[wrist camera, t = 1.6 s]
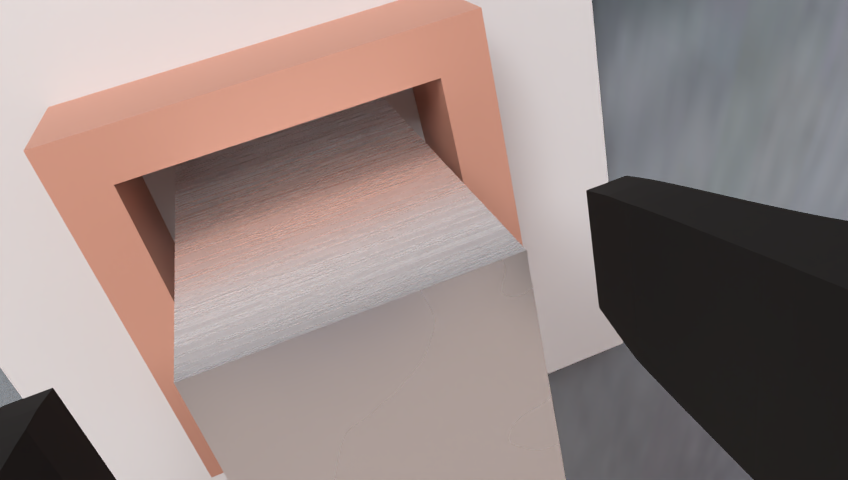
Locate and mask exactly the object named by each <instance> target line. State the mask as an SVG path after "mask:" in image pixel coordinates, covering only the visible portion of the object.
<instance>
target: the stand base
mask: <svg viewBox="0 0 848 480" xmlns="http://www.w3.org/2000/svg"><path fill="white" fill-rule="evenodd" d="M381 97H383V98H384V99H385V100H386V101H387V102H388V103H389V104H390V105H391V106H392V107H393V109H394V110H395V111H396V112H397V113H398V114H399V115H400V116H401V117H402V118H403V119H404V120H405V121H406V122H407V123H408V125H409V126H410V127H411V128H412V129H413V130H414V131H415V132H416V133H417V134H418V135H419V136H420V137H421V138H422V139H423V140H424V142H425V143H426V144H427V145H428V146H429V147H430V148H431V149H432V150H433V151H434V152H435V153H436V154H437V155H438V156H439V158H440V159H441V160H442V161H443V162H444V163H445V164H446V165H447V166H448V167H449V168H450V169H451V170H452V171H453V172H454V174H455V175H456V176H457V177H458V178H459V179H460V180H461V181H462V182H463V183H464V184H465V185H466V186H467V187H468V188H469V190H470V191H471V192H472V193H473V194H474V195H475V196H476V197H477V198H478V199H479V200H480V201H481V202H482V203H483V204H484V205H485V207H486V208H487V209H488V210H489V211H490V212H491V213H492V214H493V215H494V216H495V217H496V218H497V219H498V220H499V221H500V223H501V224H502V225H503V226H504V227H505V228H506V229H507V230H508V231H509V232H510V233H511V234H512V235H513V236H514V237H515V239H516V240H517V241H518V242H519V243H520V244H521V245H522V246H523V247H524V248H525V249H526V251H527V256H528V262H529V268H530V274H531V280H532V286H533V291H534V297H535V303H536V309H537V315H538V321H539V326H540V332H541V338H542V344H543V350H544V356H545V361H546V367H547V373H548V374H549V373H551V372H554V371H556V370H559V369H561V368H564V367H566V366H569V365H571V364H573V363H576V362H578V361H581V360H583V359H586V358H588V357H591V356H593V355H595V354H598V353H600V352H603V351H605V350H608V349H610V348H612V347H615V346H617V345H620V344H622V343H623V340H622V339H621V338H620V336H619V335H618V334H617V332H616V331H615V329H614V328H613V327H612V325H611V324H610V322H609V321H608V320H607V318H606V317H605V315H604V314H603V312H602V311H601V310H600V308H599V303H598V294H597V285H596V276H595V267H594V257H593V248H592V239H591V230H590V221H589V212H588V203H587V194H586V190H589V189H591V188H594V187H597V186H600V185H602V184H605V183H608V173H607V162H606V151H605V140H604V129H603V118H602V107H601V96H600V85H599V75H598V64H597V53H596V42H595V31H594V20H593V9H592V0H0V368H1V369H2V370H3V372H4V373H5V375H6V376H7V377H8V379H9V380H10V381H11V383H12V384H13V386H14V387H15V388H16V390H17V391H18V393H19V394H20V395H21V397H22V398H23V399H24V398H26V397H29V396H32V395H34V394H37V393H40V392H42V391H45V390H48V389H51V388H54V390H55V391H56V393H57V394H58V396H59V397H60V399H61V400H62V401H63V403H64V404H65V406H66V407H67V409H68V410H69V412H70V413H71V414H72V416H73V417H74V419H75V420H76V422H77V423H78V425H79V426H80V428H81V429H82V430H83V432H84V433H85V435H86V436H87V438H88V439H89V441H90V442H91V443H92V445H93V446H94V448H95V449H96V451H97V452H98V454H99V455H100V457H101V458H102V459H103V461H104V462H105V464H106V465H107V467H108V468H109V470H110V471H111V472H112V474H113V475H114V477H115V478H116V480H228V479H227V477H226V476H225V474H224V472H223V470H222V468H221V467H220V465H219V463H218V461H217V459H216V458H215V456H214V454H213V452H212V451H211V449H210V447H209V445H208V443H207V442H206V440H205V438H204V436H203V434H202V433H201V431H200V429H199V427H198V425H197V424H196V422H195V420H194V418H193V417H192V415H191V413H190V411H189V409H188V408H187V406H186V404H185V402H184V400H183V399H182V397H181V395H180V393H179V391H178V390H177V388H176V386H175V384H174V292H175V165H176V164H180V163H183V162H186V161H189V160H192V159H195V158H198V157H201V156H204V155H207V154H210V153H213V152H216V151H219V150H222V149H225V148H228V147H231V146H235V145H238V144H241V143H244V142H247V141H250V140H253V139H256V138H259V137H262V136H265V135H268V134H271V133H274V132H277V131H280V130H283V129H286V128H290V127H293V126H296V125H299V124H302V123H305V122H308V121H311V120H314V119H317V118H320V117H323V116H326V115H329V114H332V113H335V112H338V111H342V110H345V109H348V108H351V107H354V106H357V105H360V104H363V103H366V102H369V101H372V100H375V99H378V98H381Z"/></svg>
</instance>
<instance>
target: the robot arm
mask: <svg viewBox="0 0 848 480" xmlns="http://www.w3.org/2000/svg"><path fill="white" fill-rule="evenodd" d="M586 194H587V203H588V212H589V221H590V230H591V239H592V248H593V257H594V267H595V276H596V285H597V294H598V303H599V308H600V310H601V311H602V312H603V314H604V315H605V317H606V318H607V320H608V321H609V322H610V324H611V325H612V327H613V328H614V329H615V331H616V332H617V334H618V335H619V336H620V338H621V339H622V340H623V342H624V343H625V344H626V346H627V347H628V348H629V349H630V351H631V352H632V353H633V355H634V356H635V357H636V359H637V360H638V361H639V362H640V363H641V364H642V366H643V367H644V368H645V369H646V370H647V371H648V372H649V373H650V374H651V375H652V376H653V377H654V378H655V379H656V380H657V381H658V382H659V383H660V384H661V385H662V386H663V388H664V389H665V390H666V391H667V392H668V393H669V394H670V395H671V396H672V397H673V398H674V399H675V400H676V401H677V402H678V403H679V404H680V405H681V406H682V407H683V408H684V409H685V410H686V411H687V412H688V413H689V414H690V415H691V416H692V417H693V418H694V419H695V420H696V421H697V422H698V423H699V424H700V425H701V426H702V427H703V428H704V429H705V431H706V432H707V433H708V434H709V435H710V436H711V437H712V438H713V439H714V440H715V441H716V442H717V443H718V444H719V445H720V446H721V447H722V448H723V449H724V450H725V451H726V452H727V453H728V454H729V455H730V456H731V457H732V458H733V459H734V460H735V461H736V462H737V463H738V464H739V465H740V466H741V467H742V468H743V469H744V470H745V471H746V472H747V473H748V474H749V475H750V476H751V477H752V478H753V479H754V480H848V221H845V220H839V219H834V218H828V217H823V216H818V215H813V214H808V213H802V212H797V211H792V210H788V209H783V208H778V207H774V206H769V205H764V204H760V203H755V202H751V201H746V200H742V199H737V198H733V197H729V196H724V195H720V194H715V193H711V192H707V191H702V190H698V189H693V188H689V187H684V186H680V185H675V184H671V183H666V182H661V181H656V180H651V179H645V178H639V177H631V176H624V177H621V178H619V179H616V180H613V181H610V182H608V183H605V184H602V185H600V186H597V187H594V188H591V189H589V190H586ZM0 480H116V478H115V477H114V475H113V474H112V472H111V471H110V470H109V468H108V467H107V465H106V464H105V462H104V461H103V459H102V458H101V457H100V455H99V454H98V452H97V451H96V449H95V448H94V446H93V445H92V443H91V442H90V441H89V439H88V438H87V436H86V435H85V433H84V432H83V430H82V429H81V428H80V426H79V425H78V423H77V422H76V420H75V419H74V417H73V416H72V414H71V413H70V412H69V410H68V409H67V407H66V406H65V404H64V403H63V401H62V400H61V399H60V397H59V396H58V394H57V393H56V391H55V390H54V388H51V389H48V390H45V391H42V392H40V393H37V394H34V395H32V396H29V397H26V398H24V399H21V400H18V401H15V402H13V403H10V404H7V405H5V406H2V407H1V408H0Z"/></svg>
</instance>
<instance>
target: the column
mask: <svg viewBox="0 0 848 480" xmlns="http://www.w3.org/2000/svg"><path fill="white" fill-rule="evenodd" d="M174 384H175V386H176V388H177V390H178V391H179V393H180V395H181V397H182V399H183V400H184V402H185V404H186V406H187V408H188V409H189V411H190V413H191V415H192V417H193V418H194V420H195V422H196V424H197V425H198V427H199V429H200V431H201V433H202V434H203V436H204V438H205V440H206V442H207V443H208V445H209V447H210V449H211V451H212V452H213V454H214V456H215V458H216V459H217V461H218V463H219V465H220V467H221V468H222V470H223V472H224V474H225V476H226V477H227V479H228V480H566V478H565V472H564V466H563V461H562V455H561V449H560V443H559V437H558V431H557V426H556V420H555V414H554V408H553V402H552V396H551V391H550V385H549V379H548V373H547V367H546V361H545V356H544V350H543V344H542V338H541V332H540V326H539V321H538V315H537V309H536V303H535V297H534V291H533V286H532V280H531V274H530V268H529V262H528V256H527V251H526V249H525V248H524V247H523V246H522V245H521V244H520V243H519V242H518V241H517V240H516V239H515V237H514V236H513V235H512V234H511V233H510V232H509V231H508V230H507V229H506V228H505V227H504V226H503V225H502V224H501V223H500V221H499V220H498V219H497V218H496V217H495V216H494V215H493V214H492V213H491V212H490V211H489V210H488V209H487V208H486V207H485V205H484V204H483V203H482V202H481V201H480V200H479V199H478V198H477V197H476V196H475V195H474V194H473V193H472V192H471V191H470V190H469V188H468V187H467V186H466V185H465V184H464V183H463V182H462V181H461V180H460V179H459V178H458V177H457V176H456V175H455V174H454V172H453V171H452V170H451V169H450V168H449V167H448V166H447V165H446V164H445V163H444V162H443V161H442V160H441V159H440V158H439V156H438V155H437V154H436V153H435V152H434V151H433V150H432V149H431V148H430V147H429V146H428V145H427V144H426V143H425V142H424V140H423V139H422V138H421V137H420V136H419V135H418V134H417V133H416V132H415V131H414V130H413V129H412V128H411V127H410V126H409V125H408V123H407V122H406V121H405V120H404V119H403V118H402V117H401V116H400V115H399V114H398V113H397V112H396V111H395V110H394V109H393V107H392V106H391V105H390V104H389V103H388V102H387V101H386V100H385V99H384V98H383V97H381V98H378V99H375V100H372V101H369V102H366V103H363V104H360V105H357V106H354V107H351V108H348V109H345V110H342V111H338V112H335V113H332V114H329V115H326V116H323V117H320V118H317V119H314V120H311V121H308V122H305V123H302V124H299V125H296V126H293V127H290V128H286V129H283V130H280V131H277V132H274V133H271V134H268V135H265V136H262V137H259V138H256V139H253V140H250V141H247V142H244V143H241V144H238V145H235V146H231V147H228V148H225V149H222V150H219V151H216V152H213V153H210V154H207V155H204V156H201V157H198V158H195V159H192V160H189V161H186V162H183V163H180V164H176V165H175V292H174Z"/></svg>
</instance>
